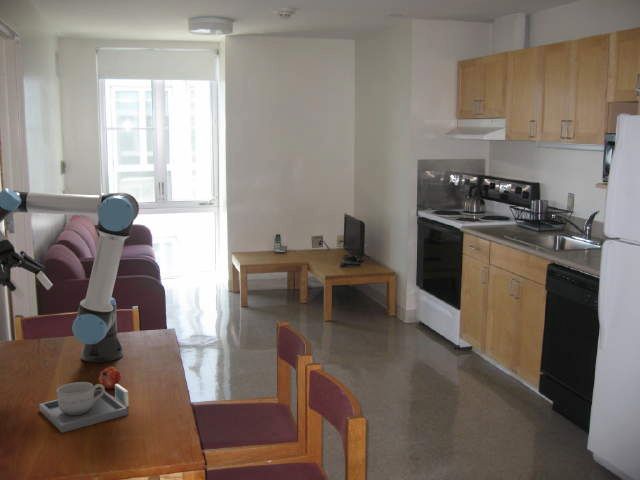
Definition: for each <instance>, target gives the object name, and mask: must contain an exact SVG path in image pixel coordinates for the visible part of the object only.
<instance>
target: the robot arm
mask: <svg viewBox="0 0 640 480" xmlns="http://www.w3.org/2000/svg"><path fill="white" fill-rule="evenodd" d="M139 206H140V205H139V202H138V201H137V199H136V198H135V197H134V196H133V195H131V194H130V193H127V192H112V193H111V192H109V193H108V192H103V193H101V194H100V195H94V194H93V195H92V194H77V193H75V194H73V193H72V194H70V193H55V192H53V193H52V192H33V191H22V190H16V189H15V190H13V189H11V188H7V187H6V188H3V189H2V190H1V191H0V224H1V223H2V222H3V221H4V220H5V219H6V218H8V216H10V215H13V214H15V213H26V214H27V213H32V214H52V215H73V216H89V217H90V216H91V217H97V218H98V221H97V225H96V231H97V233H98V234H99V238H98V240H97V241H98V242H97V246H96V250H95V255H94V259H93V264H92V269H91V272H90V277H89V282H88V286H87V290H86V295H85V298H84V299H82V300H81V301H80V303H79V306H78V310H77V315H76V318H75V319H74V320H73V322H72V328H71V330H72V333H73V335H74V338H75V339H76V340H78V342H80V343H83V346H82V349H81V354H80V355H81V360H83V361H84V362H87V363H95V364H96V363H97V364H98V363H107V362H112V361H115V360H118V359H120V358H122V357H123V355H124V352H123V351H124V350H123V346H122V343H121V342H120V339H119V335H118V323H117V321H118V320H117V303H116V298H114V297H113V296H112V295H113V291H114V287H115V283H116V279H117V274H118V270H119V265H120V262H121V261H120V260H121V256H122V253H123V248H124V245H125V240H127V238H130V237H131V233H132V229H133V224H134V221H135V220H136V219H137V217H138V215H139V211H140V207H139ZM13 268H22V269H24V270H26V271H28V272H30V273H33V274H35V275H36V276H35V277H36V279H38V281H39V282H40V283H41V284H42V286H43V287H44V288H45V290H47V291H49V290H50V289H51V288H52V287H53V285H54V284H53V283H52V282H51V281H50V279H49V277H48V276H47V274H46V273H45V272H44V269H46V266H45V265H43V264H42V263H40V262H39V261H37V260H35V259H34V258H32V257H31V256H30V255H29V254H28V253H26V252H25V251H24V250H21V251H20V252H19V253H18V252H16V251H15V246H14V245H13V243H11V241H10V240H9V239H8V237H7V236H6V234H4V233H3V231H2V230H1V229H0V285H1V286H2V287H7V288H8V289H9V291H11V292H12V293H13V294H14V295H15V296H16V298H17V299H18V300H22V299H23V297H24V296H25V295H26V294H25V292H24V291H23V290H22V288H21V287H20V286H19V285H18V284H17V283H16V281H15V280H14V279H11V269H13Z"/></svg>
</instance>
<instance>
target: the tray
mask: <svg viewBox="0 0 640 480" xmlns="http://www.w3.org/2000/svg"><path fill="white" fill-rule="evenodd" d="M101 391H102V389H101V388H99V389H98V388H97V389H96V390H95V393H94V397H96V396H98V395H99V394H100V393H101ZM38 406H39V412H40V413H42V415H44V417H46V419H48V420H49V422H51V424H52V425H53V426H54V427H56V428H57V430H59V431H60V432H61V433H66V432H71V431H73V430H76V429H81V428H85V427H88V426H91V425H95V424H98V423H101V422H102V423H103V422H106V421H109V420H113V419H117V418H121V417H125V416H127V415H129V414H128V413H129V412H128V406H127V407H125V406H124V405H123V404H121V403H120V402H119V401H118V400H116V399H115V396H112V395H111V394H109V393H108V392H107V391H106V390H105V392H104V394H103V395H102V396H101V397H100V398H99V399H98V400H96V402H95V403H93V406H92V407H91V408H90V409H89V410H88V411H87V412H85V413H83V414H79V415H67V414H65V413H64V412H62V411H61V410H60V408H59V405H58V398H57V399H55V400H51V401H50V400H49V401H46V402H45V401H44V402H41V403H39V405H38Z"/></svg>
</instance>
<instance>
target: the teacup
mask: <svg viewBox="0 0 640 480" xmlns="http://www.w3.org/2000/svg"><path fill="white" fill-rule="evenodd" d="M98 388H99V389H102V391H101V393H100V394H99V395H98V396H96V397H94V393H95V390H97V389H98ZM105 389H106V388H105V387H104V386H103V385H101V384H100V383H97V384H95V385H94V384H93V383H91V382H87V381H77V382H71V383H66V384H63V385H60V386H59V387H58V388H56V393H57V394H56V395H57V399H58V405H59V408H60V410H61V411H62V412H64V413H65V414H67V415H79V414H83V413H85V412H87V411H88V410H89V409H90V408H91V407H92V406H93V403H95V402H96V400H98V399H99V398H100V397H101V396H102V395H103V394H104V392H105V391H106V390H105Z"/></svg>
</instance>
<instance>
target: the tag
mask: <svg viewBox="0 0 640 480" xmlns="http://www.w3.org/2000/svg"><path fill="white" fill-rule="evenodd" d="M114 395H115V396H114V398H115V399H116V400H118V401H119V402H120V403H121V404H123V405H124V406H125V407H127V408H128V407H129V405H130V403H129V391H128V390H127V389H126V388H124V387H123V386H121V385H120V384H119V383H118V384H115V388H114Z"/></svg>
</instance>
